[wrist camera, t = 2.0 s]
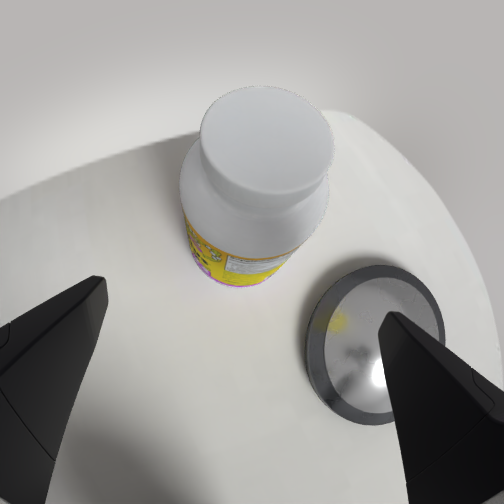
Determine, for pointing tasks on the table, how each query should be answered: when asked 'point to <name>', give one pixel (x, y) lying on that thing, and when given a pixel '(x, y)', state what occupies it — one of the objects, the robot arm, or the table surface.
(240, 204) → the supplement bottle
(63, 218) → the table surface
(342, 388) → the base
